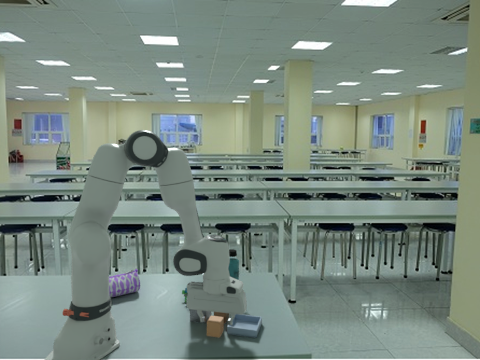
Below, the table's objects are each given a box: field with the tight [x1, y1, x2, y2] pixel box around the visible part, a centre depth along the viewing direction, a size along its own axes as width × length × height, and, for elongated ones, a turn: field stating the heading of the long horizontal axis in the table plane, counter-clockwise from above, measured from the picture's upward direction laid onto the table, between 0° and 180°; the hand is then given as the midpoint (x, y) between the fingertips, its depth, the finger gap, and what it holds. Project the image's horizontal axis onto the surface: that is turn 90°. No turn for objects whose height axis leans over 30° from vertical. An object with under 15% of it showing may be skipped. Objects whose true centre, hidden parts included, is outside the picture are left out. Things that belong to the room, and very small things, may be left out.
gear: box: [181, 287, 188, 303], centre depth 157 cm, size 11×6×10 cm
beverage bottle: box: [228, 248, 240, 280], centre depth 159 cm, size 6×7×20 cm
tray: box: [226, 313, 263, 339], centre depth 136 cm, size 10×10×3 cm
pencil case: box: [109, 268, 141, 298], centre depth 161 cm, size 22×9×10 cm, turn 128°
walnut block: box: [213, 312, 230, 325], centre depth 142 cm, size 4×4×5 cm
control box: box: [189, 309, 212, 325], centre depth 142 cm, size 7×6×10 cm
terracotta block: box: [206, 315, 225, 338], centre depth 132 cm, size 4×4×5 cm
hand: (216, 323), depth 133 cm, fingers open, 8 cm apart
